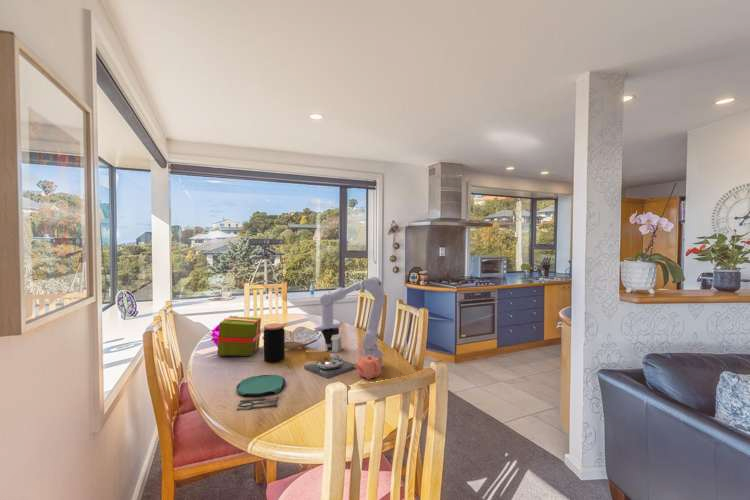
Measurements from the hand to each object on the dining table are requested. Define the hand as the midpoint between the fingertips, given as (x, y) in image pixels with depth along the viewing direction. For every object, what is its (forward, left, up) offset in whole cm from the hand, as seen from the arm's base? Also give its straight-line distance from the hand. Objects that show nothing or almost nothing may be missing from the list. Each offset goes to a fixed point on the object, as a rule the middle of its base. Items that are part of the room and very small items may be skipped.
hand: (327, 343), depth 178 cm
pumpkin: (-28, -1, -10) cm, 30 cm away
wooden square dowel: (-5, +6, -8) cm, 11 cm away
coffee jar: (+25, +16, -10) cm, 31 cm away
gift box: (+52, +25, -10) cm, 58 cm away
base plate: (-7, +4, -10) cm, 13 cm away
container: (+15, -16, -10) cm, 24 cm away
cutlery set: (-8, +42, -11) cm, 44 cm away
